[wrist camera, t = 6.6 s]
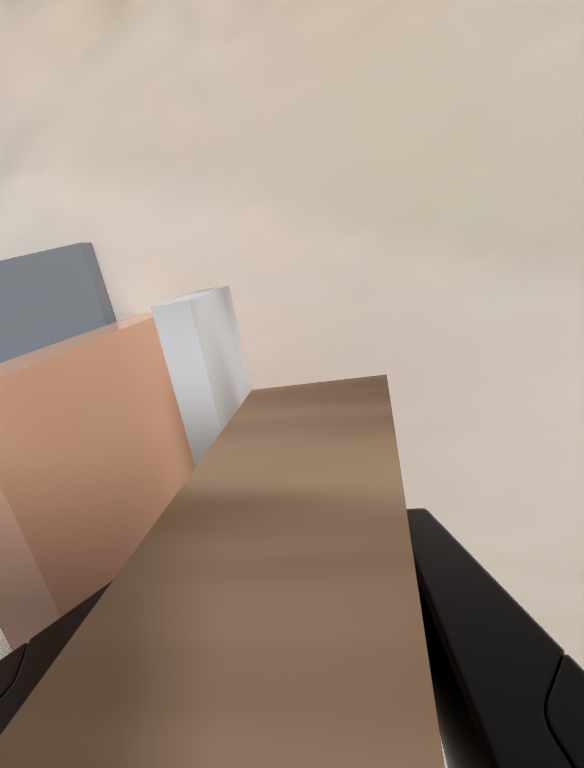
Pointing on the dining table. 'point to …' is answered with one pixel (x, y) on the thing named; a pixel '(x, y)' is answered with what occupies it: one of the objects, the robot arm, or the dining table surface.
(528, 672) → the robot arm
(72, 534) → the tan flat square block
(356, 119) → the dining table surface
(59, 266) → the slate mat
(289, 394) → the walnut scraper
